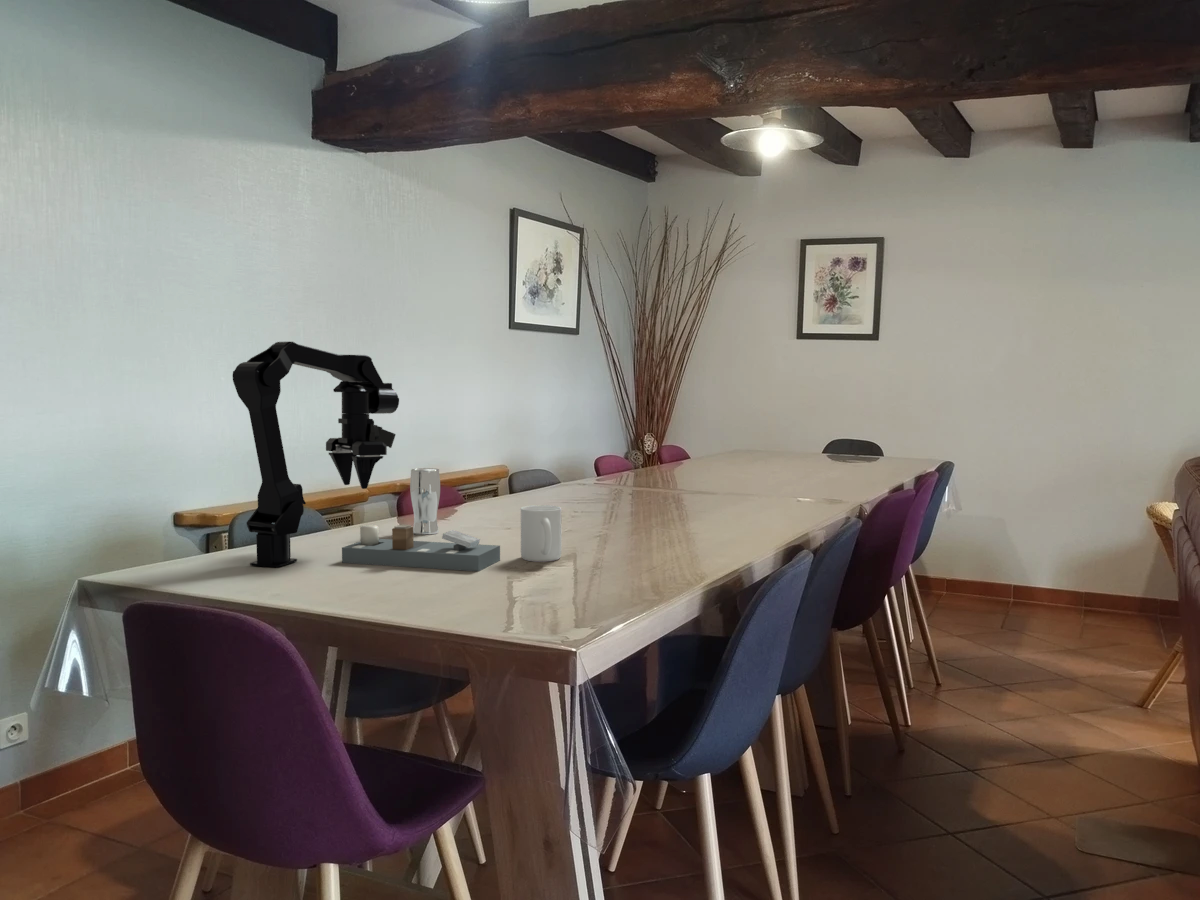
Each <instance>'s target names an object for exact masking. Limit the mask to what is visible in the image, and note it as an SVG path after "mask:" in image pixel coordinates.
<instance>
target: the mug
mask: <svg viewBox="0 0 1200 900" xmlns="http://www.w3.org/2000/svg"><path fill="white" fill-rule="evenodd" d="M562 511H563V510H562V507H561V506H558V505H557V506H556V505H549V504H548V505H547V504H546V505H545V504H541V505H539V504H536V505H525V506H521V507H520V557H521V558H522V559H523V560H524V561H528V562H537V563H539V562H540V563H541V562H542V563H543V562H544V563H545V562H553V561H558V560H560V558H561V556H562V541H563V540H562V535H563V534H562V529H563V527H562V513H563V512H562Z"/></svg>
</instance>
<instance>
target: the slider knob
mask: <svg viewBox="0 0 1200 900" xmlns="http://www.w3.org/2000/svg"><path fill="white" fill-rule="evenodd" d="M391 530H392V531H391V534H392V535H391V537H392V538H391V540H392V549H401V550H407V549H410V548H413V547H414V543H413V541H414V534H413V526H412V525H411V524H397V525H395V526H394V527H393V528H392V529H391Z"/></svg>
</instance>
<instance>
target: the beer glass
mask: <svg viewBox="0 0 1200 900" xmlns="http://www.w3.org/2000/svg"><path fill="white" fill-rule="evenodd" d="M409 489H410V500H411V506H412V510H413V526H412V527H413V535H419V536H422V535H423V536H428V535H429V536H430V535H435V534H439V531H440V530H439V529H440V528H439V525H438V509H439V503H440V496H441V477H440V469H439V468H433V467H432V468H430V467H427V468H426V467H423V468H419V467H418V468H411V469H410V482H409Z"/></svg>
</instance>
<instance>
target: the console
mask: <svg viewBox="0 0 1200 900" xmlns="http://www.w3.org/2000/svg"><path fill="white" fill-rule="evenodd" d="M413 543H414V547H413V548H410V549H407V550H401V549H392V538H391V539H388V538H379V544H378V545H376V546H366V545H360V541H358V542H355V543H352V544H348V545H346V546H343V547H341V563H343V564H357V565H359V564H360V565H376V566H377V565H378V566H390V567H402V568H403V567H405V568H406V567H407V568H419V569H420V568H424V569H434V570H437V569H439V570H452V571H454V570H455V571H465V572H466V571H467V572H470V571H471V572H480V571H482V570H485V569H486V568H488V567H490V566H492V565H494V564H495V563H498V562H500V561H501V545H496V544H480V543H479V544H477V545H475V546H473V547H470V548H468V547H465V546H463V545H460V544H457V543H454V542H442V541H423V540H413Z"/></svg>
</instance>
